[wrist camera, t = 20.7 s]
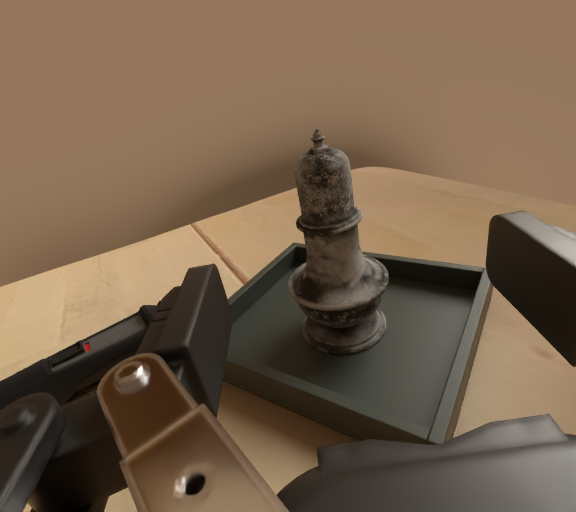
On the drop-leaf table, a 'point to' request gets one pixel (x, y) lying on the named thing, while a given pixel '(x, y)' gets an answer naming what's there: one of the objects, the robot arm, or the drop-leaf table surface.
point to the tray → (370, 363)
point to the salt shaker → (334, 259)
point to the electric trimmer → (80, 361)
